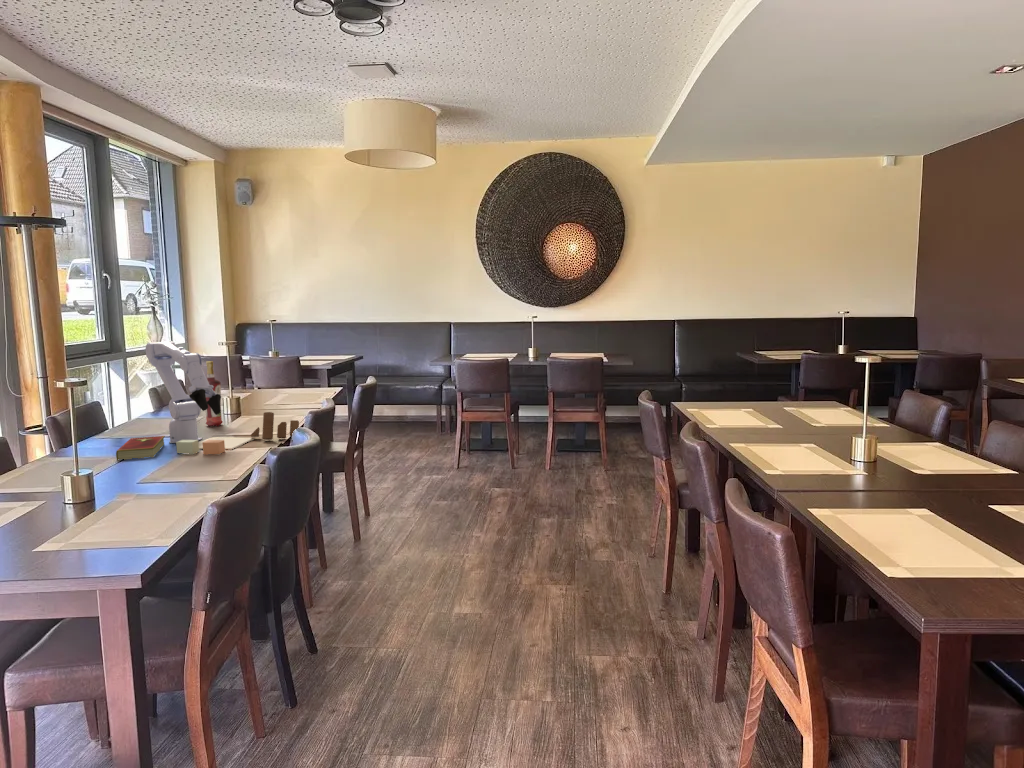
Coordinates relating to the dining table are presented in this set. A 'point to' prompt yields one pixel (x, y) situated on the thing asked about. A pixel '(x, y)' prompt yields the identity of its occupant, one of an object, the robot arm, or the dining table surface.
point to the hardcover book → (140, 447)
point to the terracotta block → (213, 447)
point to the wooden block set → (268, 427)
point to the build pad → (229, 441)
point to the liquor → (210, 415)
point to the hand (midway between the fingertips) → (212, 411)
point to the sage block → (187, 446)
